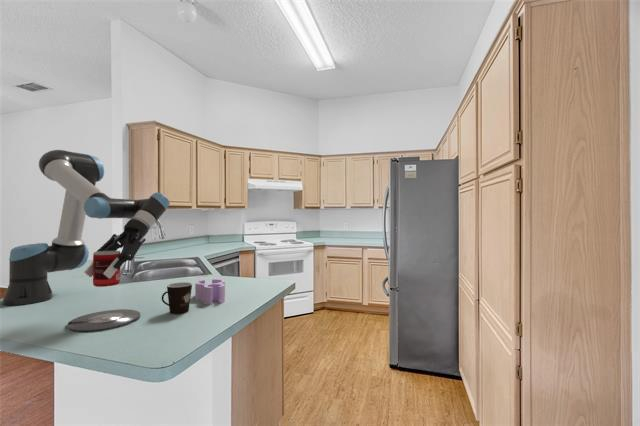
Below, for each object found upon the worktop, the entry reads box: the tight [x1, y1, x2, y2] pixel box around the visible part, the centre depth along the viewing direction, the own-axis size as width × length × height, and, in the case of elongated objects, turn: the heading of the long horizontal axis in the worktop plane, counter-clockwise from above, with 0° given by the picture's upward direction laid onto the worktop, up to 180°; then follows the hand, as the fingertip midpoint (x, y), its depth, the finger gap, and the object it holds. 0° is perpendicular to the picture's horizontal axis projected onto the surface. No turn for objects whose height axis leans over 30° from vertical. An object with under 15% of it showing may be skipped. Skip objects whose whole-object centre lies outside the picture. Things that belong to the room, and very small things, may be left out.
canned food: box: [92, 250, 121, 288], centre depth 105 cm, size 8×8×11 cm
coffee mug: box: [161, 281, 193, 315], centre depth 114 cm, size 12×9×10 cm
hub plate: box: [67, 308, 141, 333], centre depth 104 cm, size 20×20×1 cm
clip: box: [194, 277, 226, 305], centre depth 135 cm, size 20×12×7 cm, turn 30°
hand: (96, 275), depth 101 cm, fingers closed on canned food, 8 cm apart
